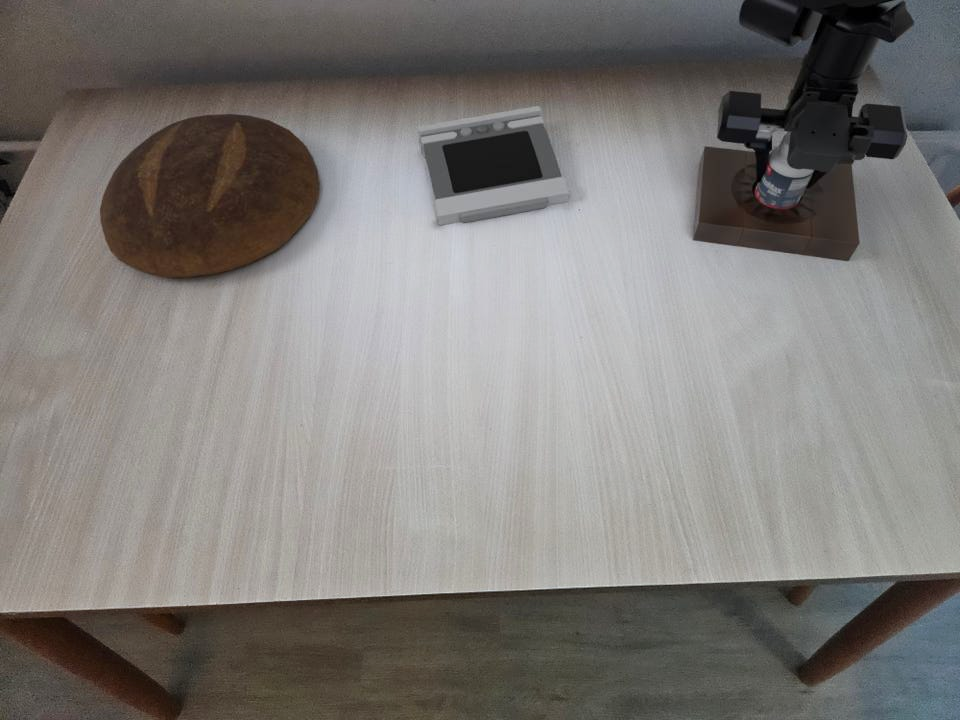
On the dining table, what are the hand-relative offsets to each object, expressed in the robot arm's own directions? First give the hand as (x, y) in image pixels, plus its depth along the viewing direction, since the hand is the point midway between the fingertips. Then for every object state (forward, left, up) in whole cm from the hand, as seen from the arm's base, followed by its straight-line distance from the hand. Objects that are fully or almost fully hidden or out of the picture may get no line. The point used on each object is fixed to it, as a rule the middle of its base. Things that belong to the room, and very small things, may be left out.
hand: (782, 183), depth 77 cm
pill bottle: (0, 0, -3) cm, 3 cm away
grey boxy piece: (+36, 0, -5) cm, 36 cm away
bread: (+71, +13, -5) cm, 72 cm away
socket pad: (0, 0, -4) cm, 4 cm away
